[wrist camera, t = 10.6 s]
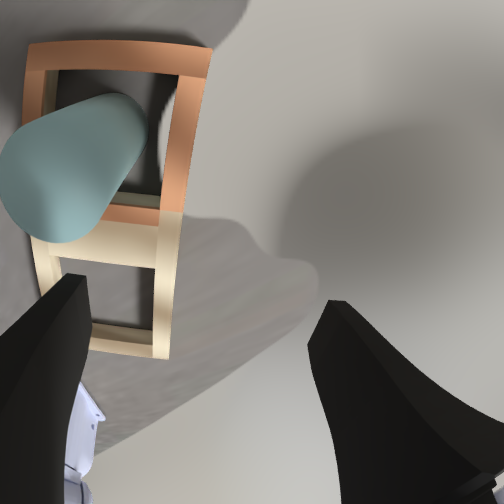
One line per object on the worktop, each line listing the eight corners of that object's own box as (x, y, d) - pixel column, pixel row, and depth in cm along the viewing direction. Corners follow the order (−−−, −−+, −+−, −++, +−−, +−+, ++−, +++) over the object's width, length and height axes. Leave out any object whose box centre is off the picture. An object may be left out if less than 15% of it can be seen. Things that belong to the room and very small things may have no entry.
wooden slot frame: (169, 345, 24) (168, 362, 23) (58, 329, 22) (52, 345, 21) (212, 50, 14) (212, 48, 12) (44, 44, 12) (29, 43, 10)
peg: (152, 164, 17) (119, 237, 10) (81, 174, 16) (17, 248, 10) (145, 86, 14) (97, 105, 8) (69, 101, 14) (-14, 136, 7)
